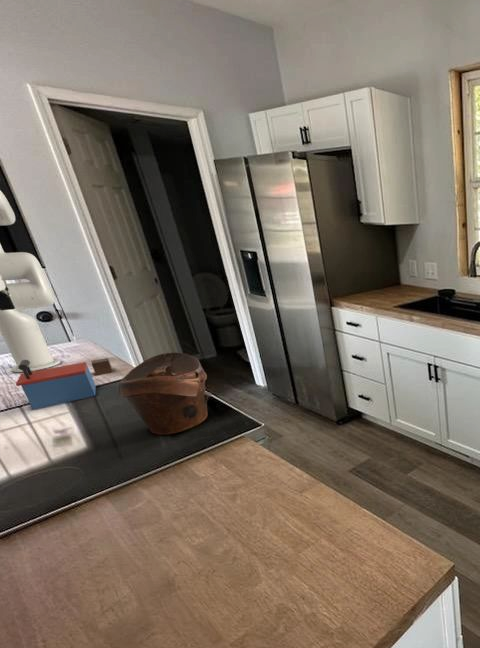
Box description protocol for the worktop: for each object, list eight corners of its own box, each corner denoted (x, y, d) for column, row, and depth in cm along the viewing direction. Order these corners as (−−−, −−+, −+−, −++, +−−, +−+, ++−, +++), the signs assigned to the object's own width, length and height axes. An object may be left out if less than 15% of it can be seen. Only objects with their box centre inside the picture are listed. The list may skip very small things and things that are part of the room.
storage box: (32, 409, 122) (21, 385, 119) (37, 398, 130) (26, 375, 127) (95, 395, 131) (85, 373, 128) (95, 385, 139) (86, 364, 136)
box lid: (16, 386, 119) (8, 369, 117) (22, 376, 127) (14, 359, 125) (85, 373, 128) (78, 356, 126) (86, 364, 136) (80, 348, 134)
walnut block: (96, 372, 151) (91, 360, 150) (112, 368, 154) (108, 357, 153) (96, 375, 148) (91, 363, 147) (112, 371, 151) (108, 360, 149)
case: (157, 449, 99) (131, 381, 93) (123, 430, 109) (97, 367, 102) (234, 418, 114) (216, 357, 107) (198, 403, 123) (179, 347, 117)
